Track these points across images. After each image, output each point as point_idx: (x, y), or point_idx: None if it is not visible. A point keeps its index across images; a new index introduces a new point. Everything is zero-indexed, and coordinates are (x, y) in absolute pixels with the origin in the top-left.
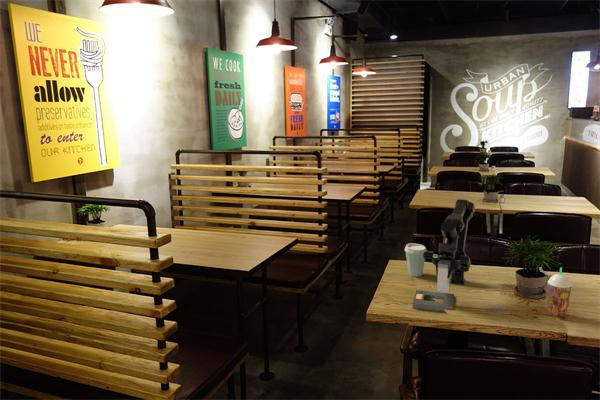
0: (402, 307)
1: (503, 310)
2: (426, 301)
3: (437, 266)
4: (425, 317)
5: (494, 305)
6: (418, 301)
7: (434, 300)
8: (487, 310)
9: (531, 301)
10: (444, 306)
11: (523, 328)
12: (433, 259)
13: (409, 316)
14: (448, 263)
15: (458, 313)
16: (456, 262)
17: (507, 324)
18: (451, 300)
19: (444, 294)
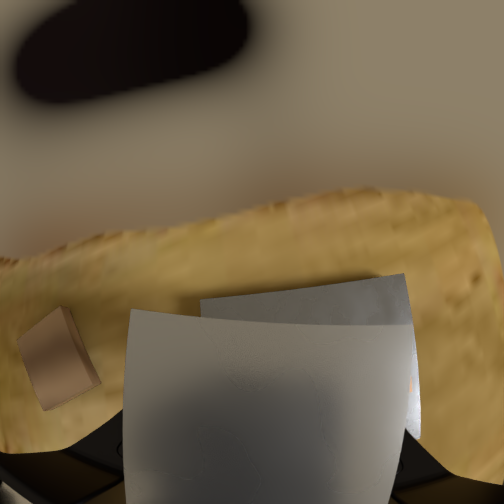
0: (427, 273)
1: (28, 356)
2: (349, 323)
3: None
4: (315, 215)
5: (52, 398)
6: (385, 303)
7: None
8: (68, 342)
9: None
10: (244, 295)
11: (10, 263)
12: (501, 489)
13: (375, 202)
14: (134, 438)
15: (181, 311)
16: (4, 454)
17: (34, 274)
18: None
19: None
